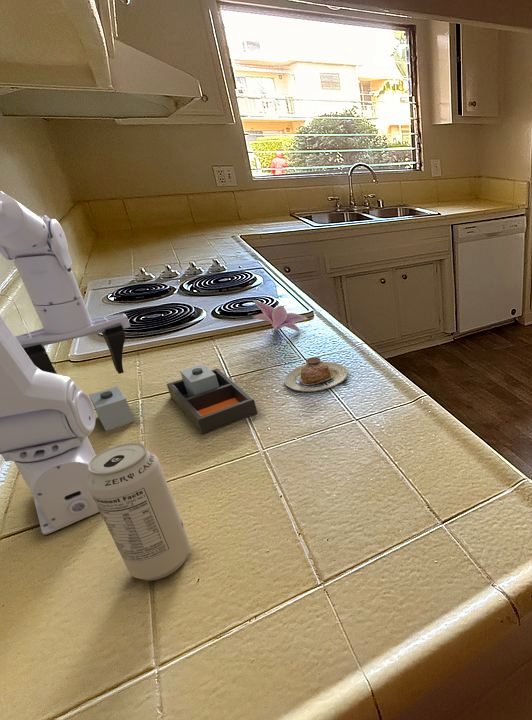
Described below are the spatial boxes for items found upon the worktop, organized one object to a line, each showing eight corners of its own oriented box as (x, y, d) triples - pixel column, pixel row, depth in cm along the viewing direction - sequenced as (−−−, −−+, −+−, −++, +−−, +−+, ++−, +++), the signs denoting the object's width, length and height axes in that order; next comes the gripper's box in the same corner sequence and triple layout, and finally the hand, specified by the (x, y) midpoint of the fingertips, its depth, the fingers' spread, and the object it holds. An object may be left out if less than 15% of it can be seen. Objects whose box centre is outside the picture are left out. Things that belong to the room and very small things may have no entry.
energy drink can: (203, 542, 56) (166, 440, 49) (170, 586, 50) (123, 478, 44) (156, 539, 56) (112, 438, 49) (118, 583, 51) (63, 475, 44)
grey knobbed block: (135, 424, 78) (124, 395, 76) (107, 434, 75) (94, 404, 73) (127, 410, 82) (116, 383, 79) (99, 419, 79) (87, 391, 77)
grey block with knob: (222, 398, 84) (214, 371, 82) (198, 407, 82) (190, 379, 79) (210, 387, 88) (203, 361, 86) (187, 395, 85) (179, 368, 83)
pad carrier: (258, 416, 80) (254, 399, 79) (203, 437, 75) (197, 420, 73) (222, 383, 91) (217, 367, 89) (171, 399, 85) (166, 383, 83)
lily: (315, 343, 110) (314, 303, 111) (269, 340, 100) (268, 296, 101) (285, 347, 117) (285, 309, 118) (239, 344, 107) (239, 304, 108)
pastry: (280, 375, 94) (276, 354, 92) (340, 362, 99) (337, 342, 97) (291, 401, 84) (286, 379, 82) (355, 385, 90) (353, 364, 88)
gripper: (110, 283, 76) (137, 357, 82) (-11, 305, 67) (29, 386, 73) (120, 292, 72) (148, 370, 78) (-8, 317, 62) (35, 403, 68)
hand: (91, 379), depth 75 cm, fingers open, 7 cm apart
